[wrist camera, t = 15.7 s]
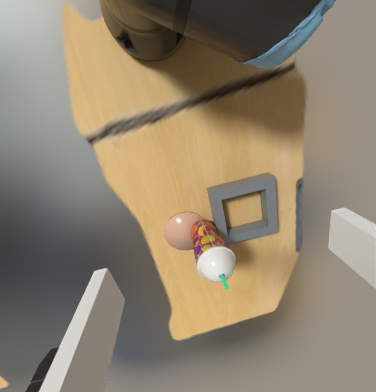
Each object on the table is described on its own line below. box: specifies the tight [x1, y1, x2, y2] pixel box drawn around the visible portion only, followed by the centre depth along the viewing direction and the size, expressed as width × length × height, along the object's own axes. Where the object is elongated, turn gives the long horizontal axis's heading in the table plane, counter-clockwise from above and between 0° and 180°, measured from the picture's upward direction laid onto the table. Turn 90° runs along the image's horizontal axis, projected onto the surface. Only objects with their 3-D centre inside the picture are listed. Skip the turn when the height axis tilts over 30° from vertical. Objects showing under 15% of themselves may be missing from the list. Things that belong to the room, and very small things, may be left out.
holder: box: [207, 173, 278, 244], centre depth 51 cm, size 16×16×4 cm
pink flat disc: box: [164, 212, 204, 250], centre depth 53 cm, size 12×12×1 cm
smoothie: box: [191, 220, 236, 289], centre depth 44 cm, size 8×8×20 cm
